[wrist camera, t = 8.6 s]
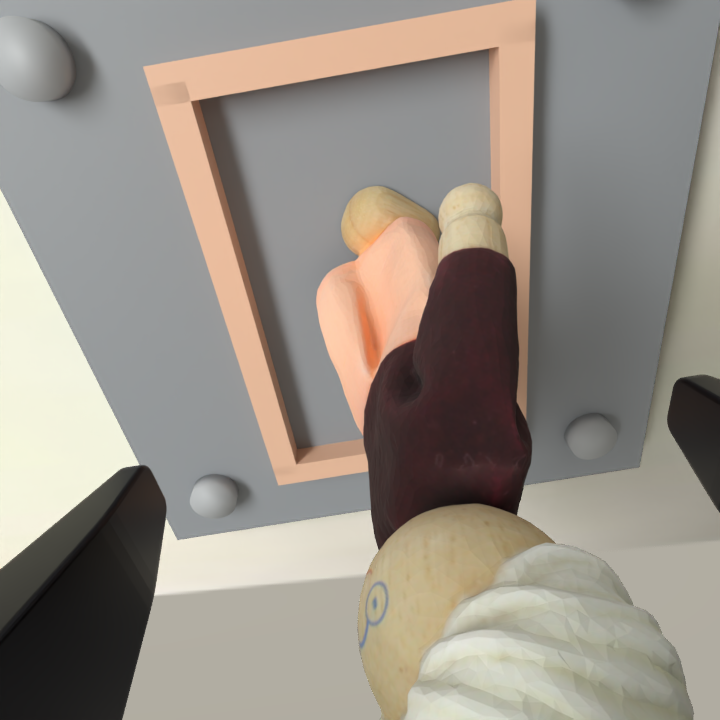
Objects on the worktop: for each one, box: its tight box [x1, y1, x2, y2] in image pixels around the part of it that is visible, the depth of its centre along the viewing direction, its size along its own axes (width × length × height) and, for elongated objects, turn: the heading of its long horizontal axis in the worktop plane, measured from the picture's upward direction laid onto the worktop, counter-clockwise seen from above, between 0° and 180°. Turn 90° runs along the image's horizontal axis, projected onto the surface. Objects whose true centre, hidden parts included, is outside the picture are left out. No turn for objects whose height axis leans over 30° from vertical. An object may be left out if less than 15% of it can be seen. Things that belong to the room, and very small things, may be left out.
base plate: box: [0, 0, 720, 540], centre depth 15 cm, size 18×18×2 cm
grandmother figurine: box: [316, 183, 694, 720], centre depth 9 cm, size 8×4×13 cm, turn 4°
